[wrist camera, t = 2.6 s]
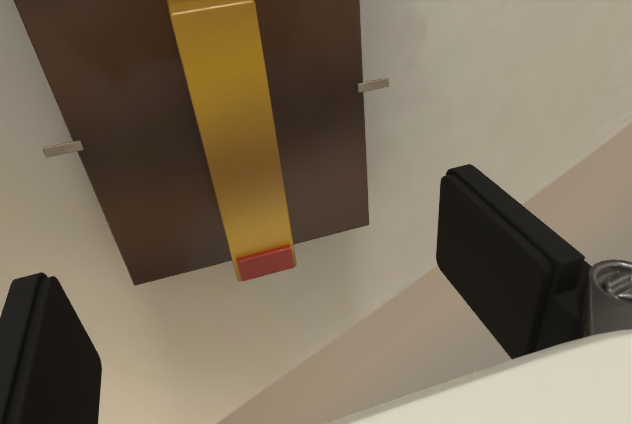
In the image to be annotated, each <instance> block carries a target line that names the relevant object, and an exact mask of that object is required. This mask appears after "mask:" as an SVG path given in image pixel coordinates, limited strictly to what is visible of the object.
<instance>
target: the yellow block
mask: <svg viewBox="0 0 632 424" xmlns="http://www.w3.org/2000/svg"><path fill="white" fill-rule="evenodd" d="M167 4H168V9H169V14H170V19H171V23H172V26H173V30H174V34H175V38H176V42H177V46H178V50H179V54H180V58H181V62H182V65H183V69H184V73H185V77H186V81H187V85H188V89H189V93H190V97H191V101H192V105H193V108H194V112H195V116H196V120H197V124H198V128H199V132H200V136H201V140H202V144H203V147H204V151H205V155H206V159H207V163H208V167H209V171H210V175H211V179H212V183H213V187H214V190H215V194H216V198H217V202H218V206H219V210H220V214H221V218H222V222H223V226H224V230H225V233H226V237H227V241H228V245H229V249H230V253H231V257H232V261H233V265H234V269H235V272H236V276H237V280H238V281H245V280H249V279H253V278H257V277H260V276H264V275H268V274H271V273H275V272H279V271H283V270H286V269H290V268H294V266H296V258H295V252H294V245H293V239H292V233H291V226H290V220H289V214H288V207H287V201H286V195H285V188H284V182H283V176H282V170H281V163H280V157H279V151H278V144H277V138H276V132H275V125H274V119H273V113H272V106H271V100H270V94H269V87H268V81H267V75H266V69H265V62H264V56H263V50H262V43H261V37H260V31H259V24H258V18H257V12H256V5H255V2H254V0H167Z"/></svg>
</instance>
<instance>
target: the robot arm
mask: <svg viewBox="0 0 632 424" xmlns="http://www.w3.org/2000/svg"><path fill="white" fill-rule="evenodd" d="M584 259H585V257H584V256H583V255H582V254H581V253H580V252H579V251H577V250H576V249H575V248H573V247H572V246H571V245H570V244H569V243H568V242H566V241H565V240H564V239H563V238H561V237H560V236H559V235H558V234H556V233H555V232H554V231H553V230H552V229H550V228H549V227H548V226H547V225H545V224H544V223H543V222H542V221H541V220H539V219H538V218H537V217H536V216H534V215H533V214H532V213H531V212H530V211H528V210H527V209H526V208H525V207H523V206H522V205H521V204H520V203H519V202H517V201H516V200H515V199H514V198H512V197H511V196H510V195H509V194H508V193H506V192H505V191H504V190H503V189H501V188H500V187H499V186H498V185H497V184H495V183H494V182H493V181H492V180H490V179H489V178H488V177H487V176H485V175H484V174H483V173H482V172H481V171H479V170H478V169H477V168H476V167H474V166H473V165H471V164H468V165H464V166H460V167H456V168H452V169H449V170H448V171H447V173H446V176H444V177H442V179H441V185H440V201H439V218H438V235H437V251H436V260H437V264H438V266H439V268H440V270H441V271H442V273H443V274H444V275H445V276H446V277H447V279H448V280H449V281H450V283H451V284H452V285H453V286H454V288H455V289H456V290H457V291H458V293H459V294H460V295H461V296H462V297H463V299H464V300H465V301H466V302H467V304H468V305H469V306H470V307H471V309H472V310H473V311H474V312H475V314H476V315H477V316H478V317H479V319H480V320H481V321H482V322H483V324H484V325H485V326H486V327H487V329H488V330H489V331H490V332H491V334H492V335H493V336H494V337H495V339H496V340H497V341H498V342H499V344H500V345H501V346H502V347H503V349H504V350H505V351H506V352H507V354H508V355H509V356H510V357H511V359H512V360H509V361H506V362H503V363H500V364H497V365H494V366H491V367H488V368H485V369H482V370H479V371H476V372H473V373H470V374H467V375H464V376H461V377H458V378H455V379H453V380H450V381H447V382H444V383H441V384H438V385H435V386H432V387H429V388H426V389H423V390H420V391H417V392H414V393H411V394H408V395H405V396H403V397H399V398H397V399H394V400H391V401H388V402H385V403H382V404H379V405H377V406H373V407H370V408H367V409H365V410H362V411H359V412H356V413H353V414H350V415H347V416H344V417H341V418H339V419H336V420H333V421H330V422H327V423H324V424H632V262H628V261H623V260H606V261H601V262H599V263H597V264H595V265H593V266H590V265H589V264H588V263H587V262H586V261H584ZM101 374H102V366H101V360H100V357H99V355H98V353H97V351H96V349H95V347H94V345H93V343H92V342H91V340H90V338H89V336H88V334H87V332H86V331H85V329H84V327H83V325H82V323H81V321H80V320H79V318H78V316H77V314H76V312H75V310H74V308H73V307H72V305H71V303H70V301H69V299H68V297H67V296H66V294H65V292H64V290H63V288H62V286H61V285H60V283H59V281H58V279H57V278H56V277H54V276H52V277H49V278H48V277H47V275H45V274H44V273H38V274H34V275H30V276H26V277H22V278H18V279H15V280H13V281H12V283H11V286H10V289H9V292H8V295H7V298H6V302H5V305H4V308H3V311H2V314H1V317H0V424H98V415H99V401H100V387H101Z"/></svg>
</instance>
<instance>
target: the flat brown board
mask: <svg viewBox="0 0 632 424" xmlns="http://www.w3.org/2000/svg"><path fill="white" fill-rule="evenodd" d="M14 2H15V5H16V7H17V9H18V12H19V14H20V17H21V19H22V21H23V24H24V26H25V28H26V31H27V33H28V35H29V38H30V40H31V43H32V45H33V47H34V50H35V52H36V54H37V57H38V59H39V61H40V64H41V66H42V69H43V71H44V73H45V76H46V78H47V80H48V83H49V85H50V87H51V90H52V92H53V95H54V97H55V99H56V102H57V104H58V106H59V109H60V111H61V113H62V116H63V118H64V121H65V123H66V125H67V128H68V130H69V132H70V135H71V137H72V139H73V142H69V143H64V144H59V145H54V146H49V147H45V148H43V149H42V150H43V152H44V154H45V156H46V157H51V156H56V155H61V154H66V153H70V152H75V151H78V154H79V156H80V158H81V161H82V163H83V165H84V168H85V170H86V173H87V175H88V177H89V180H90V182H91V184H92V187H93V189H94V191H95V194H96V196H97V199H98V201H99V203H100V206H101V208H102V210H103V213H104V215H105V217H106V220H107V222H108V225H109V227H110V229H111V232H112V234H113V236H114V239H115V241H116V243H117V246H118V248H119V251H120V253H121V255H122V258H123V260H124V262H125V265H126V267H127V269H128V272H129V274H130V277H131V279H132V281H133V284H134V285H139V284H143V283H147V282H151V281H154V280H158V279H162V278H166V277H170V276H174V275H177V274H181V273H185V272H189V271H193V270H197V269H201V268H204V267H208V266H212V265H216V264H220V263H224V262H227V261H231V260H232V257H231V253H230V249H229V245H228V241H227V237H226V233H225V230H224V226H223V222H222V218H221V214H220V210H219V206H218V202H217V198H216V194H215V190H214V187H213V183H212V179H211V175H210V171H209V167H208V163H207V159H206V155H205V151H204V147H203V144H202V140H201V136H200V132H199V128H198V124H197V120H196V116H195V112H194V108H193V105H192V101H191V97H190V93H189V89H188V85H187V81H186V77H185V73H184V69H183V65H182V62H181V58H180V54H179V50H178V46H177V42H176V38H175V34H174V30H173V26H172V23H171V19H170V14H169V9H168V4H167V0H14ZM254 2H255V5H256V12H257V18H258V24H259V31H260V37H261V43H262V50H263V56H264V62H265V69H266V75H267V81H268V87H269V94H270V100H271V106H272V113H273V119H274V125H275V132H276V138H277V144H278V151H279V157H280V163H281V170H282V176H283V182H284V188H285V195H286V201H287V207H288V214H289V220H290V226H291V233H292V239H293V244H297V243H301V242H304V241H308V240H312V239H316V238H320V237H324V236H328V235H331V234H335V233H339V232H343V231H347V230H351V229H355V228H358V227H362V226H366V225H369V211H368V188H367V165H366V142H365V119H364V96H363V92H365V91H370V90H375V89H379V88H384V87H389V79H388V78H384V79H379V80H374V81H369V82H364V83H363V73H362V50H361V27H360V4H359V0H254Z"/></svg>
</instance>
